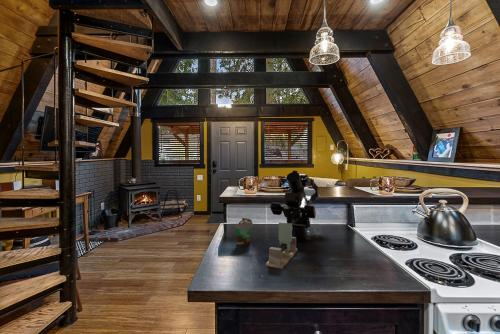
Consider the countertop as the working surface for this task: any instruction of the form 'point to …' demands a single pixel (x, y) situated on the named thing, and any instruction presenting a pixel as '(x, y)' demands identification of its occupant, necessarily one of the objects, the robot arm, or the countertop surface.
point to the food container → (243, 232)
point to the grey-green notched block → (285, 234)
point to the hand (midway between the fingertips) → (288, 227)
